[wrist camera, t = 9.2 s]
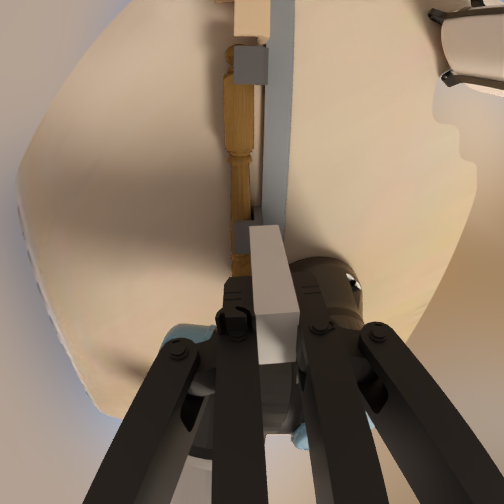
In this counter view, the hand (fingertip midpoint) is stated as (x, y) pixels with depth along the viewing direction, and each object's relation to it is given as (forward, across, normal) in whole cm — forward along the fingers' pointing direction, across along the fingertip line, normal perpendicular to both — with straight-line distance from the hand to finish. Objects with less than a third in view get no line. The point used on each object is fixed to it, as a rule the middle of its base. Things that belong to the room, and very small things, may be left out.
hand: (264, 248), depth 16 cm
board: (+20, 0, -5) cm, 21 cm away
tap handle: (+21, +1, +1) cm, 21 cm away
